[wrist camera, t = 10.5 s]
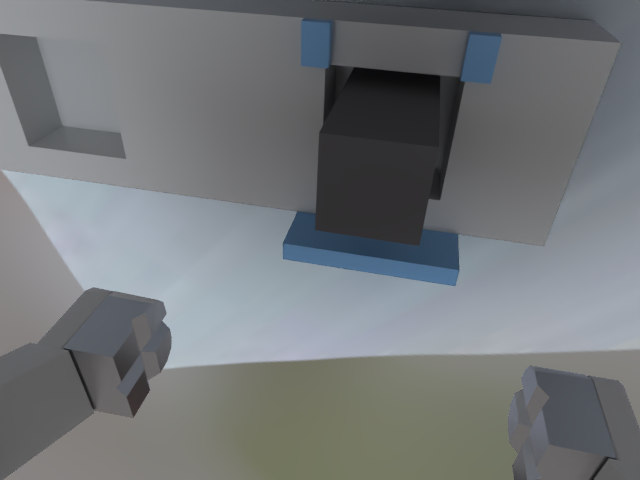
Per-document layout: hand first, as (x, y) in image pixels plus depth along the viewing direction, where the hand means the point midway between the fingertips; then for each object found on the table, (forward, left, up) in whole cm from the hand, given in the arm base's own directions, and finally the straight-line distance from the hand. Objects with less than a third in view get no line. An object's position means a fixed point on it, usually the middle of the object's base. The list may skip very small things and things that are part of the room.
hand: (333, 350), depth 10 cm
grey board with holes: (0, -6, -15) cm, 16 cm away
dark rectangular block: (0, 0, -14) cm, 14 cm away
